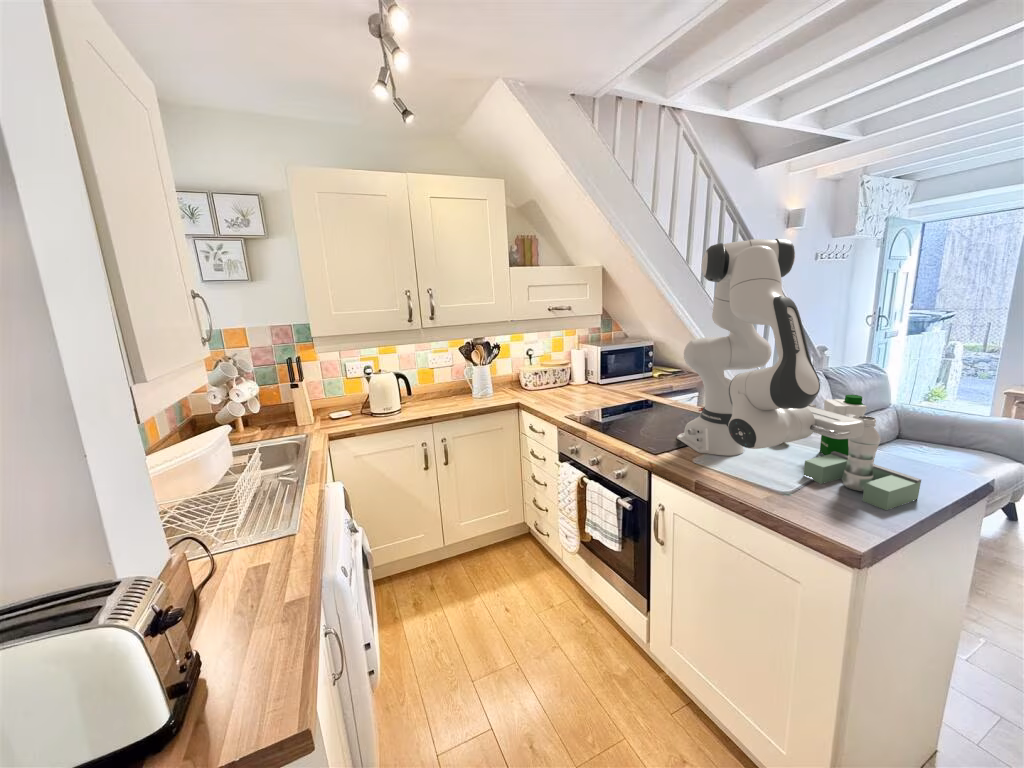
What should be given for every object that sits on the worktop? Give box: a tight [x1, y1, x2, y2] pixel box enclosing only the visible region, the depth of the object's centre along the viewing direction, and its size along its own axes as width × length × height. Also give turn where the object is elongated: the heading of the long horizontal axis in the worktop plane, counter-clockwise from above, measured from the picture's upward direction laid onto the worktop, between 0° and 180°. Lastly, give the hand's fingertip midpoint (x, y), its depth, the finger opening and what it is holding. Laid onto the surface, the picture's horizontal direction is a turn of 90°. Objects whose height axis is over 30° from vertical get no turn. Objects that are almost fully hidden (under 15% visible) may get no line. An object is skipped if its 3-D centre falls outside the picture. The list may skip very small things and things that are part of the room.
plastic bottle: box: [841, 415, 881, 492], centre depth 103 cm, size 6×7×20 cm
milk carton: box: [819, 394, 868, 456], centre depth 122 cm, size 9×9×20 cm
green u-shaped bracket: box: [803, 451, 922, 511], centre depth 105 cm, size 20×12×6 cm, turn 18°
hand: (832, 412), depth 97 cm, fingers open, 8 cm apart
